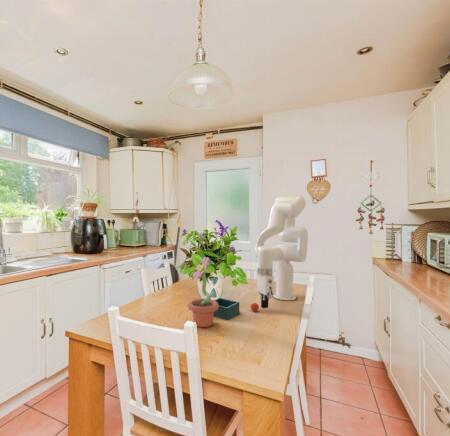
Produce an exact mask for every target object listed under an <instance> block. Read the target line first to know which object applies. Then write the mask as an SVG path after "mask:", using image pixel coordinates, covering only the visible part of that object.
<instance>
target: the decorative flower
mask: <svg viewBox="0 0 450 436" xmlns="http://www.w3.org/2000/svg"><path fill="white" fill-rule="evenodd" d="M200 262H201V264H197V266H195V269H194V271H195V272H194V273H193V275H192V277H193V278H194V280H198V279H200V278H202V279H201V280H202V283H201V292H202V294H203V295H204V296H205V297H206V298H195V299H192V300H190V301H189V302H188V303H187V309H188V310H189V311H190V312H192V322H193V321H194V322H196V324H197V326H196V327H199V328H209V327H211V326H213V324H214V319H215V318H214V317H215V316H214V311H216V310H217V309H218V307H219V305H218V303H217V302H216V301H214V300H215V299H211V298H212V297H215V296H216V294H212V295H211V294H210V293H209V292H208V291H207V275H206V272H207V271H206V269H207V268H208V267H210V265H211V261H210V258H209V256H207V257H206V256H203V257H202V258H201V261H200ZM194 322H193V323H194Z"/></svg>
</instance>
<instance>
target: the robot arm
mask: <svg viewBox="0 0 450 436" xmlns="http://www.w3.org/2000/svg"><path fill="white" fill-rule="evenodd" d="M305 207H306V199H305V197H304V196H301V195H291V196H289V195H288V196H278V197H276V198H275V199H274V204H273V205H272V206H271V210H270V215H269V219H268V225H267V227H266V228H265V229H264V230H263V231H262V232H261V233H260V234H259V236H258V237H257V240H256V243H255V248H254V255H255V257H256V258H257V272H256V273H257V276H256V291H257V293H258V294H259V295H260V308H261V309H268V308H269V300H270V299H272V297H273V298H274V299H276V300H280V301H295V300H297V296H296V295H295V294H294V291H295V289H294V267H293V265H292V263H291V262H295V263H304V262H305V261H306V259H307V254H308V239H309V235H308V230H307V229H306V227H304V226H296V218H298V217H299V216H300V214H301V213H302V212H303V211H304V209H305ZM277 235H278V239H279V240H280V241H281V242H283V243H284V244H283V243H281V244H277V245H276V246H273V245H265V242H266V241H267V240H269V239H270V238H272V237H274V236H277ZM286 243H287V244H286ZM288 243H291V244H288ZM292 243H293V244H292ZM274 262H275V263H276V264H275V274H276V275H275V278H276V279H275V278H274V275H273V274H274ZM274 279H275V280H274Z"/></svg>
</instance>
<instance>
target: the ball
mask: <svg viewBox="0 0 450 436" xmlns="http://www.w3.org/2000/svg"><path fill="white" fill-rule="evenodd" d="M259 308H260V306H259V304H258V303H256V302H252V303H251V304H250V309H251V311H253V312H257V311H258V310H259Z"/></svg>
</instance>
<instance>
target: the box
mask: <svg viewBox="0 0 450 436" xmlns="http://www.w3.org/2000/svg"><path fill="white" fill-rule="evenodd" d="M213 300H214V301H216V302H217V303H218V305H219V307H218V309H217V310H216V311H214V317H216V318H219V319H223V320H226V321H227V320H230V319H232V318H234V317H235V316H236V315H239V314H240V301H236V300H232V299H228V298H223V297H217V298H216V299H213Z"/></svg>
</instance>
